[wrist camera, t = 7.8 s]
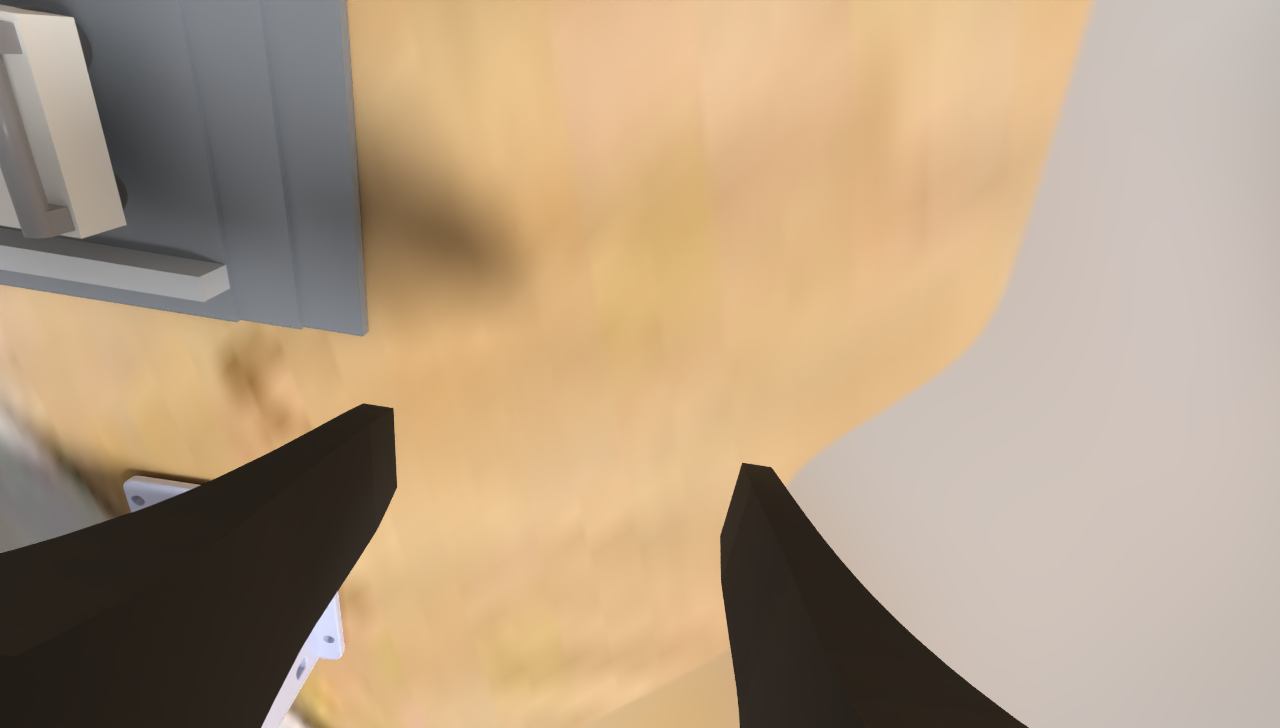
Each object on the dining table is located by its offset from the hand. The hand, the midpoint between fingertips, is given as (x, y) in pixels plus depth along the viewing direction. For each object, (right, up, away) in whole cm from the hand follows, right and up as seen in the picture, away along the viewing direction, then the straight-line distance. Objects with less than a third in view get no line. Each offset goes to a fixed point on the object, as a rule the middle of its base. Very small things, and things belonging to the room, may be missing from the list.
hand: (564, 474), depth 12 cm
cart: (-15, +9, +4) cm, 18 cm away
